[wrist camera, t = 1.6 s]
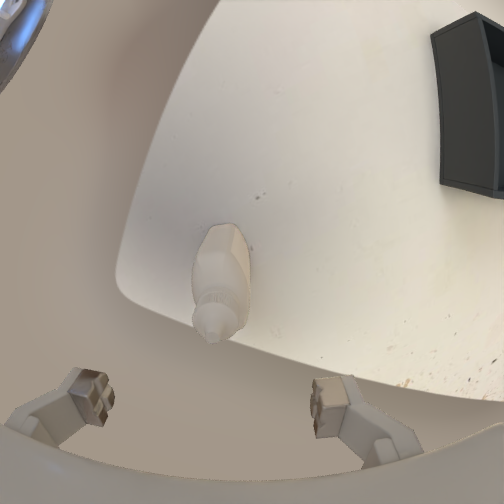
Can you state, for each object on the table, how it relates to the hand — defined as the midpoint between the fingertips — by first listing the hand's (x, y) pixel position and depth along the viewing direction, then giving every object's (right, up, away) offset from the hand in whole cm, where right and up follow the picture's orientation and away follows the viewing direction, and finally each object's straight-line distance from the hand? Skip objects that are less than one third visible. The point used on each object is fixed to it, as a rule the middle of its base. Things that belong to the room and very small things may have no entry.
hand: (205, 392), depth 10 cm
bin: (+25, +19, +10) cm, 33 cm away
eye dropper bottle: (0, +5, +15) cm, 16 cm away
